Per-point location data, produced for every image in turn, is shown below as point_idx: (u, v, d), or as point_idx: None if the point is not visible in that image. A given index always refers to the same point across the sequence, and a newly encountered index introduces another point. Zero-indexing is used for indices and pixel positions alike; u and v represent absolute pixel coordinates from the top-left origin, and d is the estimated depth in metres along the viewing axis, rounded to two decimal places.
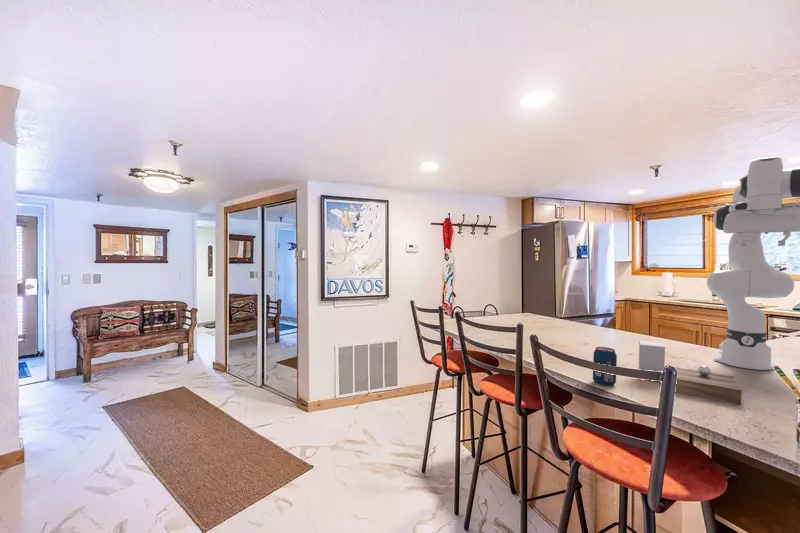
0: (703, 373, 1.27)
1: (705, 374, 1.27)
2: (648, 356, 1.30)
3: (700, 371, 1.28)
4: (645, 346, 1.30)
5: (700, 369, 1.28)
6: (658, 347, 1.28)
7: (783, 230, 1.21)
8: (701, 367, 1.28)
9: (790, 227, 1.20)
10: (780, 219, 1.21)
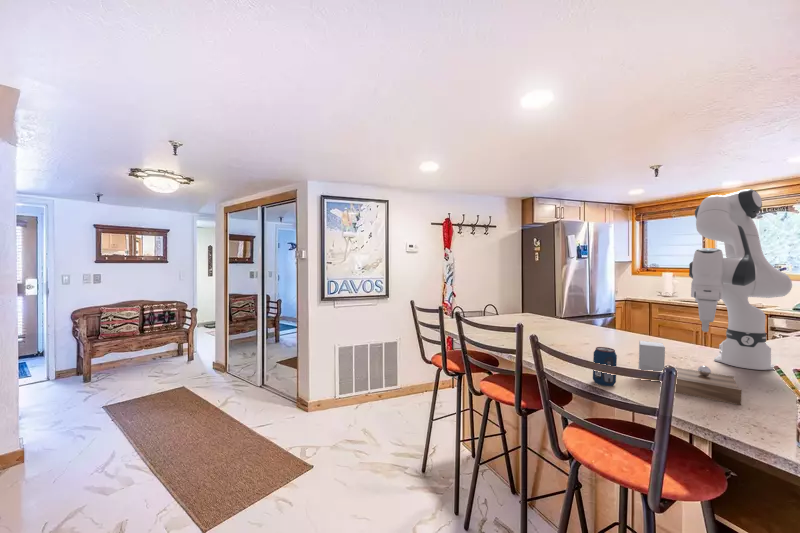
0: (703, 373, 1.27)
1: (705, 374, 1.27)
2: (648, 356, 1.30)
3: (700, 371, 1.28)
4: (645, 346, 1.30)
5: (700, 369, 1.28)
6: (658, 347, 1.28)
7: None
8: (701, 367, 1.28)
9: None
10: None
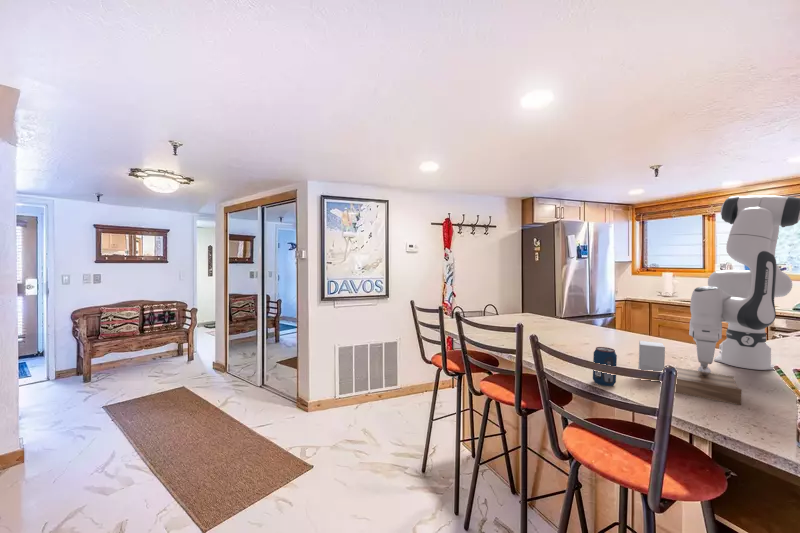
0: (703, 373, 1.27)
1: (705, 374, 1.27)
2: (648, 356, 1.30)
3: (700, 371, 1.28)
4: (645, 346, 1.30)
5: (700, 369, 1.28)
6: (658, 347, 1.28)
7: None
8: (701, 367, 1.28)
9: None
10: None
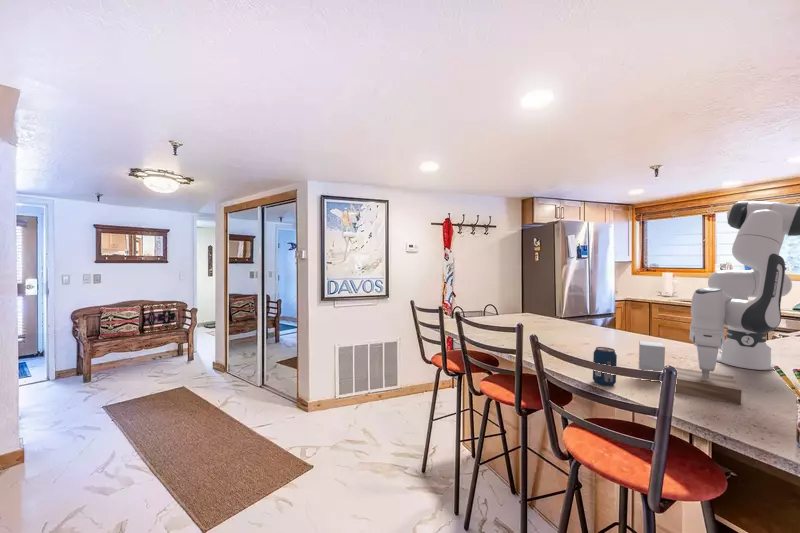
0: None
1: None
2: (648, 356, 1.30)
3: None
4: (645, 346, 1.30)
5: None
6: (658, 347, 1.28)
7: None
8: None
9: None
10: None
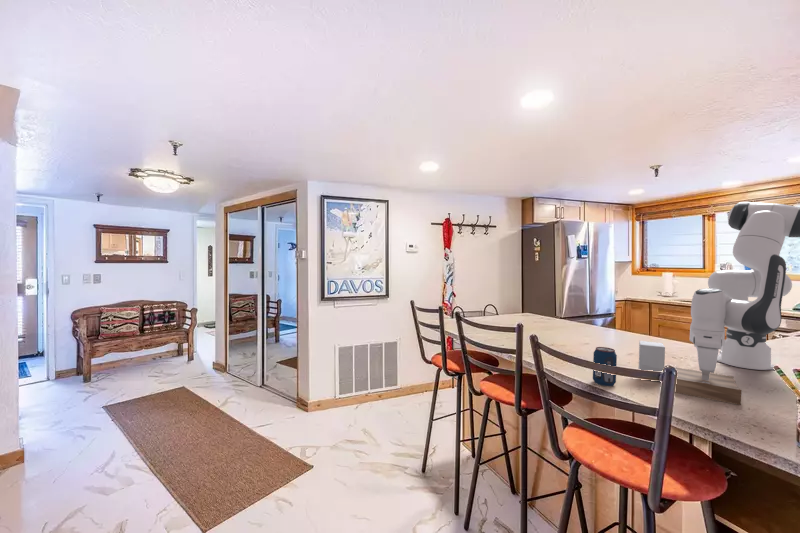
0: None
1: None
2: (648, 356, 1.30)
3: None
4: (645, 346, 1.30)
5: None
6: (658, 347, 1.28)
7: None
8: None
9: None
10: None
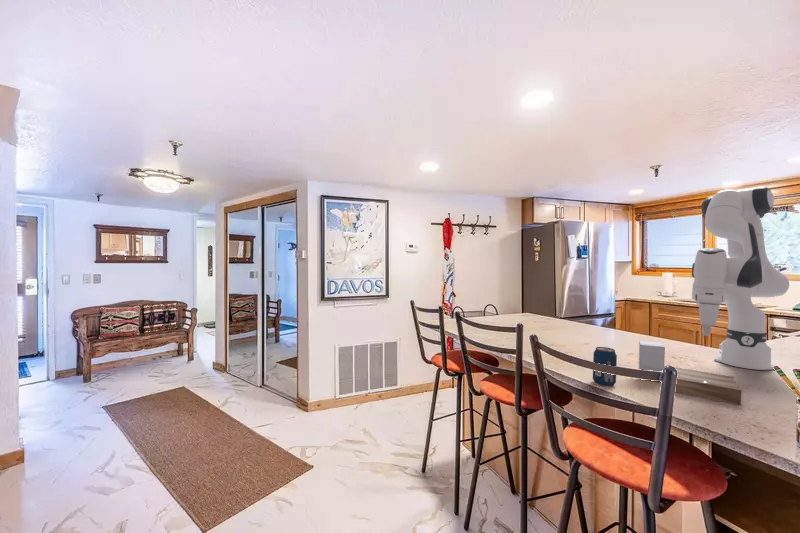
0: None
1: None
2: (648, 356, 1.30)
3: None
4: (645, 346, 1.30)
5: None
6: (658, 347, 1.28)
7: None
8: None
9: None
10: None
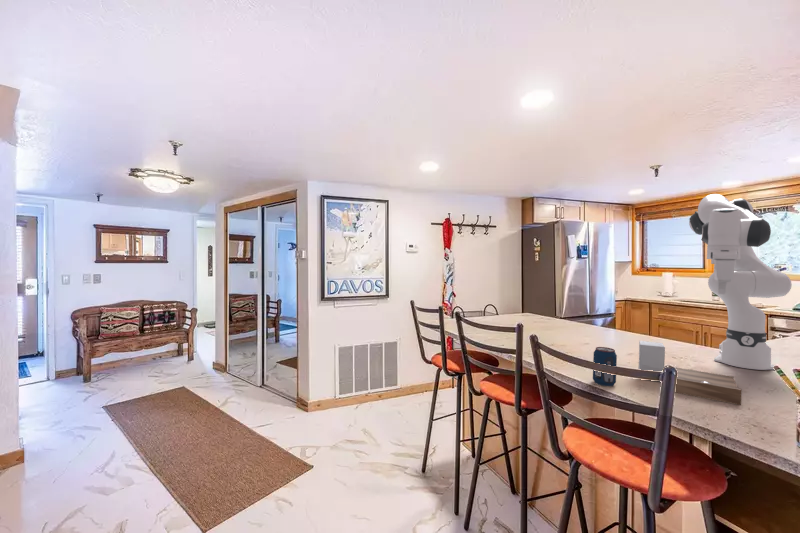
0: None
1: None
2: (648, 356, 1.30)
3: None
4: (645, 346, 1.30)
5: None
6: (658, 347, 1.28)
7: None
8: None
9: None
10: None
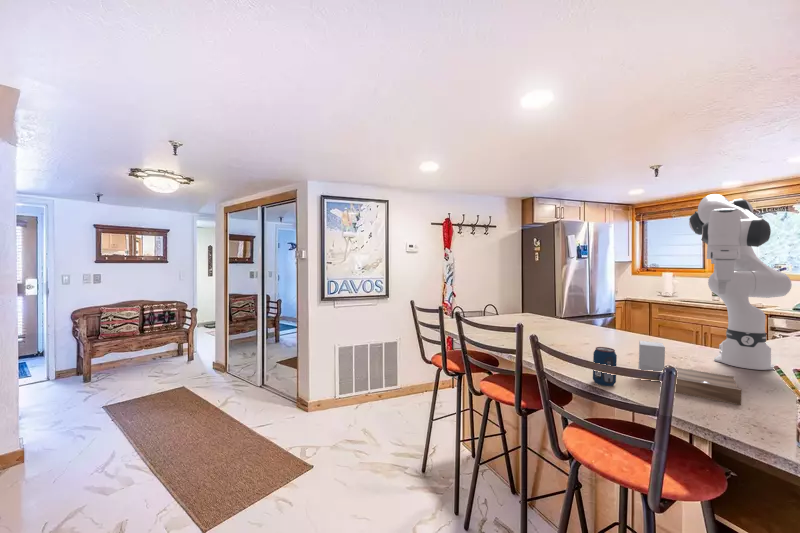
0: None
1: None
2: (648, 356, 1.30)
3: None
4: (645, 346, 1.30)
5: None
6: (658, 347, 1.28)
7: None
8: None
9: None
10: None
